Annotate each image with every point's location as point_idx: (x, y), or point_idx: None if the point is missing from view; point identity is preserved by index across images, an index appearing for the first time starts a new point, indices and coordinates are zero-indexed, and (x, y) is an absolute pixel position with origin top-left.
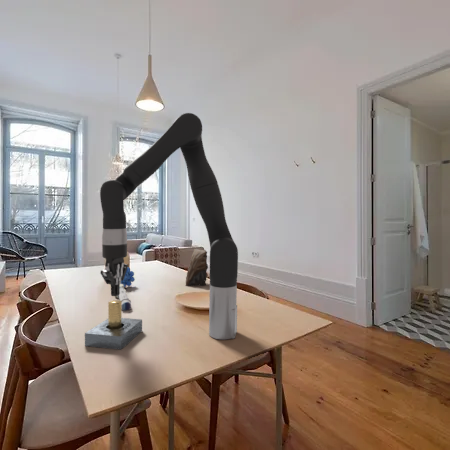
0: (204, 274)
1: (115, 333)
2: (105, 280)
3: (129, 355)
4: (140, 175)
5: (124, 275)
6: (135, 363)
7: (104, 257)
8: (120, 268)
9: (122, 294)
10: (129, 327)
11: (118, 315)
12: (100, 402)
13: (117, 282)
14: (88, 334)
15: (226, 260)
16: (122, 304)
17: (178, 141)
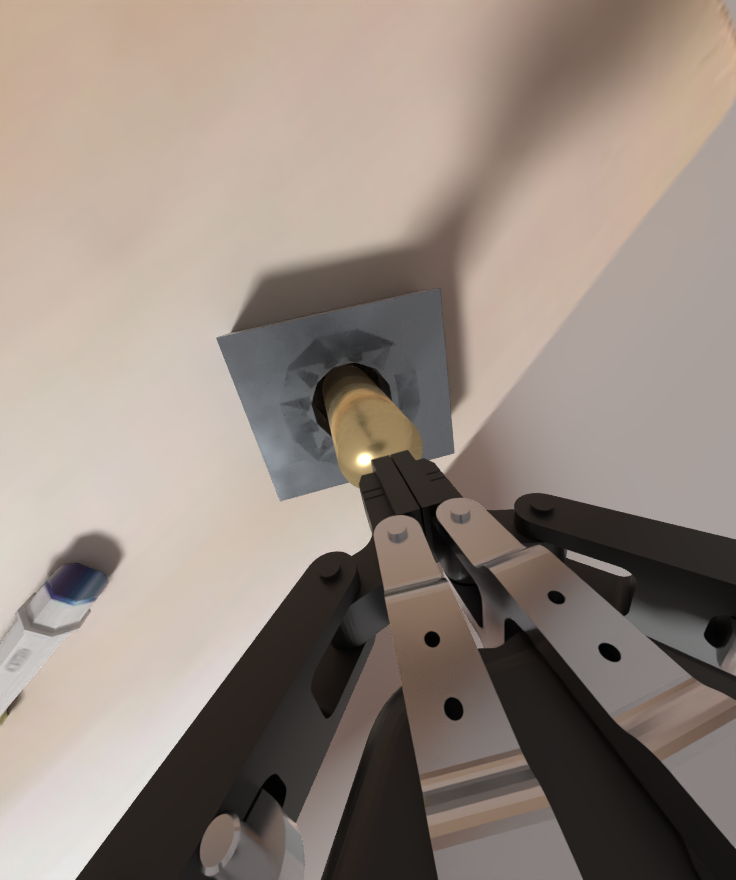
0: None
1: (420, 338)
2: (611, 578)
3: (446, 217)
4: None
5: (279, 622)
6: (495, 139)
7: None
8: (521, 757)
9: (4, 687)
10: (339, 325)
11: (374, 391)
12: (709, 97)
13: (468, 512)
14: (451, 437)
15: None
16: (90, 601)
17: None
